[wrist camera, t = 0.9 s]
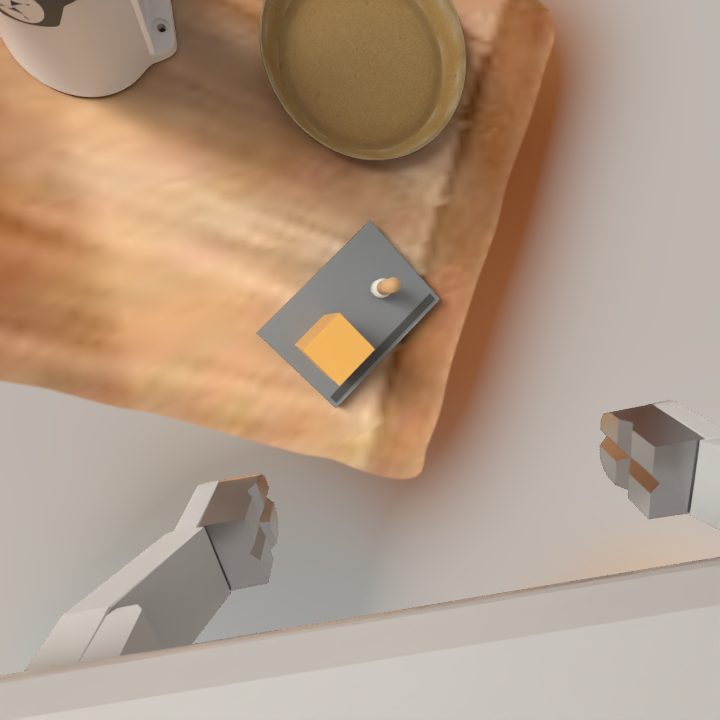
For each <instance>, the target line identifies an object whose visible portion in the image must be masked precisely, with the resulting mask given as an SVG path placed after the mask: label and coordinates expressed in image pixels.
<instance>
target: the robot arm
mask: <svg viewBox="0 0 720 720" xmlns="http://www.w3.org/2000/svg"><path fill="white" fill-rule="evenodd" d="M161 28H164V29H166V31H165V32H160V31H159V29H161ZM0 37H1V38H2V40H3V41H4V43H5V45H6V46H7V48H8V49H9V51H10V52H11V54H12V55H13V57H14V58H15V59H16V60H17V61H18V63H19V64H20V65H21V66H22V67H23V68H24V69H25V70H26V71H27V72H29V73H30V74H31V75H32V76H34V77H35V78H36V79H38V80H39V81H41V82H42V83H44V84H46V85H48V86H50V87H51V88H54V89H56V90H58V91H61V92H64V93H67V94H71V95H76V96H83V97H100V96H106V95H110V94H114V93H117V92H119V91H122V90H124V89H125V88H127V87H129V86H130V85H132V84H133V83H134V82H135V81H137V80H138V79H139V78H140V76H141V75H142V74H143V73H144V72H145V71H146V70H147V69H148V68H149V67H150V66H151V65H152V64H154V63H157V62H160V61H162V60H165V59H167V58H169V57H171V56H172V55H173V54H174V53H175V52H176V50H177V40H176V32H175V25H174V18H173V11H172V4H171V0H0ZM600 429H601V430H602V432H603V433H604V434H605V435H606V436H607V437H606V438H605V439H604V441H603V442H602V443H601V445H600V459H601V462H602V466H603V469H604V471H605V472H606V474H607V475H608V477H609V478H610V479H611V481H612V482H613V483H614V484H615V485H617V486H620V487H622V488H624V489H627V490H628V498H629V499H630V501H632V502H633V503H634V505H635V506H636V507H637V508H638V509H639V510H640V511H641V512H642V513H643V514H644V515H645V516H646V517H647V518H648V519H653V518H659V517H667V516H674V515H681V514H688V513H690V516H693V517H694V518H696V519H698V520H700V521H702V522H705V523H707V524H709V525H711V526H713V527H715V528H717V529H719V530H720V427H719V426H717V425H716V424H714V423H712V422H711V421H709V420H707V419H705V418H704V417H702V416H700V415H699V414H697V413H695V412H693V411H692V410H690V409H689V408H687V407H685V406H684V405H682V404H680V403H679V402H677V401H672V400H667V401H663V402H658V403H653V404H648V405H645V406H640V407H635V408H630V409H624V410H619V411H614V412H609V413H604V414H603V416H602V418H601V428H600ZM268 489H269V486H268V484H267V481H266V478H265V476H264V475H262V474H256V475H250V476H244V477H237V478H231V479H224V480H218V481H212V482H207V483H202V484H200V485H198V487H197V488H196V490H195V492H194V494H193V496H192V498H191V500H190V502H189V504H188V505H187V507H186V509H185V511H184V513H183V515H182V517H181V519H180V521H179V523H178V525H177V527H176V528H175V530H174V532H170V533H167V534H165V535H164V536H163V537H162V538H160V539H159V540H158V541H156V542H155V543H154V544H153V545H151V546H150V547H149V548H148V549H146V550H145V551H144V552H142V553H141V554H140V555H139V556H137V557H136V558H135V559H134V560H132V561H131V562H130V563H128V564H127V565H126V566H125V567H124V568H122V569H121V570H120V571H118V572H117V573H116V574H114V575H113V576H112V577H111V578H109V579H108V580H107V581H106V582H104V583H103V584H102V585H101V586H99V587H98V588H97V589H95V590H94V591H93V592H92V593H90V594H89V595H88V596H87V597H85V598H84V599H83V600H81V601H80V602H79V603H78V604H76V605H75V606H74V607H73V608H71V609H70V610H69V611H68V612H66V613H65V614H64V615H63V616H62V617H61V619H60V620H59V621H58V623H57V624H56V626H55V627H54V629H53V630H52V632H51V633H50V635H49V636H48V637H47V639H46V640H45V642H44V643H43V645H42V646H41V648H40V649H39V651H38V652H37V654H36V655H35V656H34V658H33V660H32V661H31V662H30V664H29V666H28V667H27V668H26V670H25V671H24V672H19V673H13V674H7V675H1V676H0V720H720V557H716V558H711V559H704V560H698V561H692V562H686V563H680V564H674V565H669V566H661V567H656V568H649V569H643V570H637V571H631V572H625V573H619V574H613V575H607V576H600V577H595V578H588V579H582V580H576V581H570V582H564V583H558V584H552V585H546V586H540V587H534V588H528V589H522V590H516V591H510V592H504V593H498V594H492V595H486V596H480V597H474V598H468V599H462V600H456V601H450V602H444V603H438V604H432V605H426V606H420V607H414V608H408V609H402V610H396V611H390V612H384V613H378V614H372V615H365V616H359V617H354V618H347V619H341V620H335V621H329V622H323V623H317V624H311V625H305V626H299V627H293V628H286V629H280V630H274V631H268V632H262V633H256V634H250V635H244V636H238V637H232V638H226V639H220V640H214V641H207V642H201V643H195V644H192V643H193V642H194V640H195V639H196V638H197V637H198V635H199V634H200V633H201V631H202V630H203V629H204V627H205V626H206V625H207V624H208V622H209V621H210V620H211V618H212V617H213V616H214V614H215V613H216V612H217V610H218V609H219V608H220V607H221V605H222V604H223V603H224V601H225V600H226V599H227V597H228V596H229V595H230V594H231V591H232V590H236V589H242V588H247V587H252V586H257V585H262V584H267V583H268V582H269V577H270V572H271V568H272V563H273V556H272V553H271V548H272V547H273V546H274V545H275V544H276V542H277V537H278V518H277V512H276V509H275V505H274V502H272V501H271V500H269V499H268V498H267V494H268Z"/></svg>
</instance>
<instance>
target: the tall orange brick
mask: <svg viewBox="0 0 720 720" xmlns="http://www.w3.org/2000/svg"><path fill="white" fill-rule="evenodd" d="M295 346H296V347H297V348H298V349H299V350H300V351H301V352H302V353H303V354H304V355H305V356H306V357H307V358H308V359H309V360H310V361H311V362H313V363H314V364H315V365H316V366H317V367H318V368H319V369H320V370H321V371H322V372H323V373H324V374H325V375H326V376H328V377H329V378H330V379H331V380H333V381H334V382H335V383H336V384H338V385H339V386H340V385H341V384H342V383H343V382H344V381H345V380H346V379H347V378H348V377H349V376H350V375H351V374H352V373H353V372H354V371H355V370H356V369H357V368H358V367H359V366H360V364H361V363H362V362H363V361H364V360H365V359H366V358H367V357H368V356H369V355H370V354H371V353H372V352H373V351H374V350H375V349H374V348H373V347H372V346H371V345H370V343H369V342H368V341H367V340H366V339H365V338H364V337H363V336H362V335H361V334H360V333H359V332H358V331H357V330H356V329H355V328H354V327H353V326H352V325H351V324H350V323H349V322H348V321H347V320H346V319H345V318H344V317H343V316H342V315H341V314H340V313H334V314H326V315H323V316H322V317H321V318H320V319H319V320H318V321H317V322H316V323H315V324H314V325H313V326H312V327H311V328H310V329H309V330H308V331H307V332H306V334H305V335H304V336H303V337H302V338H301V339H300V340H299V341H298V342H297V343H296V344H295Z"/></svg>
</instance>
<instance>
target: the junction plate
mask: <svg viewBox="0 0 720 720" xmlns="http://www.w3.org/2000/svg"><path fill="white" fill-rule="evenodd" d="M439 300H440V298H439V297H438V296H437V295H436V294H435V293H434V292H433V291H432V289H431V288H430V287H429V286H428V285H427V284H426V283H425V281H424V280H423V279H422V278H421V277H420V276H419V275H418V274H417V272H416V271H415V270H414V269H413V268H412V267H411V266H410V265H409V263H408V262H407V261H406V260H405V259H404V258H403V257H402V256H401V254H400V253H399V252H398V251H397V250H396V249H395V248H394V246H393V245H392V244H391V243H390V242H389V241H388V240H387V239H386V237H385V236H384V235H383V234H382V233H381V232H380V231H379V230H378V228H377V227H376V226H375V225H374V224H373V223H372V222H371V220H370V221H369V222H368V223H367V224H366V225H365V226H364V227H363V228H362V229H361V230H360V231H359V232H358V233H357V234H356V235H355V236H354V237H353V238H352V239H351V240H350V241H349V242H348V243H347V244H346V245H345V246H344V247H343V248H342V249H341V250H340V251H339V252H338V253H337V254H336V255H335V256H334V257H333V258H332V259H331V260H330V261H329V262H328V263H327V264H326V265H325V266H324V267H323V268H322V269H321V270H320V271H319V272H318V273H317V274H316V275H315V276H314V277H313V278H312V279H311V280H310V281H308V282H307V283H306V284H305V285H304V286H303V287H302V288H301V289H300V290H299V291H298V292H297V293H296V294H295V295H294V296H293V297H292V298H291V299H290V300H289V301H288V302H287V303H286V304H285V305H284V306H283V307H282V308H281V309H280V310H279V311H278V312H277V313H276V314H275V315H274V316H273V317H272V318H271V319H270V320H269V321H268V322H267V323H266V324H265V325H264V326H263V327H262V328H261V329H260V330H259V331H258V332H257V334H258V335H259V336H260V337H261V338H262V339H263V340H264V341H266V342H267V343H268V344H269V345H270V346H271V347H272V348H273V349H274V350H275V351H276V352H277V353H278V354H279V355H280V356H281V357H282V358H283V359H284V360H286V361H287V362H288V363H289V364H290V365H291V366H292V367H293V368H294V369H295V370H296V371H297V372H298V373H299V374H300V375H301V376H302V377H303V378H304V379H305V380H307V381H308V382H309V383H310V384H311V385H312V386H313V387H314V388H315V389H316V390H317V391H318V392H319V393H320V394H321V395H322V396H323V397H324V398H325V399H326V400H328V401H329V402H330V403H331V404H332V405H333V406H334V407H335V408H337V407H338V406H339V405H340V404H341V402H342V401H343V400H344V399H345V398H346V397H347V396H348V395H349V394H350V393H351V392H352V391H353V390H354V389H355V388H356V387H357V386H358V385H359V384H360V383H361V381H362V380H363V379H364V378H365V377H366V376H367V375H368V374H369V373H370V372H371V371H372V370H373V369H374V368H375V367H376V366H377V365H378V364H379V363H380V362H381V361H382V359H383V358H384V357H385V356H386V355H387V354H388V353H389V352H390V351H391V350H392V349H393V348H394V347H395V346H396V345H397V344H398V343H399V342H400V341H401V340H402V339H403V337H404V336H405V335H406V334H407V333H408V332H409V331H410V330H411V329H412V328H413V327H414V326H415V325H416V324H417V323H418V322H419V321H420V320H421V319H422V318H423V316H424V315H425V314H426V313H427V312H428V311H429V310H430V309H431V308H432V307H433V306H434V305H435V304H436V303H437V302H438V301H439ZM334 313H340V314H341V315H342V316H343V317H344V318H345V319H346V320H347V321H348V322H349V323H350V324H351V325H352V326H353V327H354V328H355V329H356V330H357V331H358V332H359V333H360V334H361V335H362V336H363V337H364V338H365V339H366V340H367V341H368V342H369V343H370V345H371V346H372V347H373V348H374V349H375V350H374V351H373V352H372V353H371V354H370V355H369V356H368V357H367V358H366V359H365V360H364V361H363V362H362V363H361V364H360V366H359V367H358V368H357V369H356V370H355V371H354V372H353V373H352V374H351V375H350V376H349V377H348V378H347V379H346V380H345V381H344V382H343V383H342V384H341V385H340V386H339V385H338V384H336V383H335V382H334V381H333V380H331V379H330V378H329V377H328V376H326V375H325V374H324V373H323V372H322V371H321V370H320V369H319V368H318V367H317V366H316V365H315V364H314V363H313V362H311V361H310V360H309V359H308V358H307V357H306V356H305V355H304V354H303V353H302V352H301V351H300V350H299V349H298V348H297V347H296V346H295V344H296V343H297V342H298V341H299V340H300V339H301V338H302V337H303V336H304V335H305V334H306V332H307V331H308V330H309V329H310V328H311V327H312V326H313V325H314V324H315V323H316V322H317V321H318V320H319V319H320V318H321V317H322V316H323V315H326V314H334Z"/></svg>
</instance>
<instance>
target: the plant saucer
mask: <svg viewBox="0 0 720 720" xmlns="http://www.w3.org/2000/svg"><path fill="white" fill-rule="evenodd" d="M259 38H260V48H261V54H262V59H263V63H264V67H265V70H266V73H267V76H268V78H269V81H270V83H271V86H272V88H273V90H274V92H275V94H276V96H277V97H278V99H279V101H280V102H281V104H282V106H283V107H284V109H285V110H286V111H287V113H288V114H289V115H290V116H291V118H292V119H293V120H294V121H295V122H296V123H297V124H298V125H299V126H300V127H301V129H303V130H304V131H305V132H306V133H307V134H308V135H310V136H311V137H312V138H313V139H315V140H316V141H317V142H319V143H321V144H322V145H324V146H326V147H327V148H329V149H331V150H333V151H335V152H338V153H340V154H343V155H346V156H349V157H353V158H357V159H364V160H389V159H394V158H399V157H402V156H405V155H408V154H411V153H413V152H415V151H417V150H419V149H421V148H423V147H424V146H425V145H427V144H428V143H430V142H431V141H432V140H433V139H434V138H436V137H437V136H438V135H439V134H440V133H441V131H442V130H443V129H444V128H445V127H446V125H447V124H448V122H449V121H450V119H451V118H452V116H453V114H454V112H455V110H456V108H457V106H458V104H459V101H460V98H461V95H462V92H463V87H464V82H465V76H466V49H465V41H464V35H463V31H462V27H461V24H460V20H459V18H458V15H457V12H456V10H455V8H454V6H453V4H452V1H451V0H263V4H262V8H261V14H260V24H259Z"/></svg>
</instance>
